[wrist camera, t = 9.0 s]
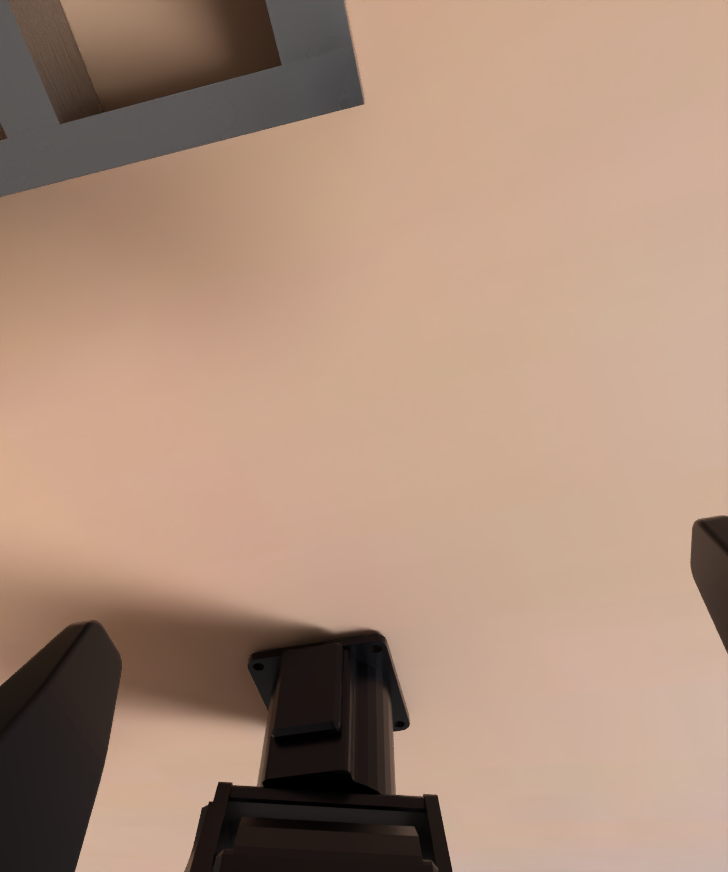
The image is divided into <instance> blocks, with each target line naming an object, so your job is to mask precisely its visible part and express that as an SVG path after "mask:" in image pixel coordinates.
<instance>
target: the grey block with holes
mask: <svg viewBox="0 0 728 872" xmlns="http://www.w3.org/2000/svg"><path fill="white" fill-rule="evenodd" d="M265 1H266V5H267V9H268V13H269V17H270V21H271V25H272V29H273V33H274V37H275V41H276V45H277V49H278V53H279V57H280V61H281V66H277V67H273V68H270V69H266V70H262V71H258V72H255V73H251V74H247V75H243V76H240V77H236V78H232V79H228V80H225V81H221V82H217V83H213V84H209V85H206V86H202V87H198V88H194V89H191V90H187V91H183V92H179V93H176V94H172V95H168V96H164V97H161V98H157V99H153V100H149V101H146V102H142V103H138V104H134V105H131V106H127V107H123V108H119V109H116V110H112V111H108V112H104V113H103V111H102V108H101V106H100V103H99V101H98V98H97V95H96V93H95V90H94V88H93V85H92V83H91V80H90V77H89V75H88V72H87V70H86V67H85V65H84V62H83V59H82V57H81V54H80V52H79V49H78V47H77V44H76V41H75V39H74V36H73V34H72V31H71V29H70V26H69V23H68V21H67V18H66V16H65V13H64V11H63V8H62V5H61V3H60V0H0V123H1V126H2V128H3V130H4V132H5V134H6V136H7V139H3V140H0V197H2V196H6V195H10V194H14V193H17V192H21V191H25V190H29V189H33V188H37V187H41V186H45V185H49V184H53V183H57V182H61V181H65V180H68V179H72V178H76V177H80V176H84V175H88V174H92V173H96V172H100V171H104V170H108V169H112V168H116V167H119V166H123V165H127V164H131V163H135V162H139V161H143V160H147V159H151V158H155V157H159V156H163V155H167V154H170V153H174V152H178V151H182V150H186V149H190V148H194V147H198V146H202V145H206V144H210V143H214V142H218V141H221V140H225V139H229V138H233V137H237V136H241V135H245V134H249V133H253V132H257V131H261V130H265V129H269V128H272V127H276V126H280V125H284V124H288V123H292V122H296V121H300V120H304V119H308V118H312V117H316V116H320V115H323V114H327V113H331V112H335V111H339V110H343V109H347V108H351V107H355V106H359V105H363V104H364V94H363V89H362V84H361V79H360V74H359V69H358V64H357V59H356V54H355V48H354V43H353V38H352V33H351V28H350V23H349V18H348V13H347V8H346V3H345V0H265Z"/></svg>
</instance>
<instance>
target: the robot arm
mask: <svg viewBox="0 0 728 872" xmlns="http://www.w3.org/2000/svg"><path fill="white" fill-rule="evenodd" d="M690 564H691V571H692V575H693V578H694V580H695V583H696V585H697V587H698V589H699V592H700V594H701V596H702V598H703V600H704V603H705V605H706V607H707V609H708V611H709V614H710V616H711V618H712V620H713V622H714V625H715V627H716V629H717V631H718V634H719V636H720V638H721V640H722V642H723V645H724V647H725V649H726V651H727V653H728V516H715V517H709V518H703V519H698V520H697V521H695V522H694V524H693V527H692V542H691V561H690ZM374 645H378V646H374ZM248 669H249V671H250V673H251V675H252V678H253V680H254V682H255V684H256V686H257V688H258V690H259V692H260V694H261V697H262V699H263V701H264V703H265V705H266V707H267V709H268V718H267V724H266V731H265V737H264V744H263V750H262V757H261V764H260V770H259V777H258V783H257V787H254V786H237V785H233V784H232V783H230V782H218V786H217V789H216V793H215V797H214V800H213V802H209V804H208V805H207V806H205V807H203V808H202V810H201V815H200V819H199V824H198V828H197V833H196V837H195V841H194V845H193V849H192V852H191V856H190V858H189V861H188V864H187V866H186V869H185V871H184V872H452V867H451V862H450V856H449V851H448V846H447V841H446V836H445V831H444V826H443V821H442V816H441V811H440V806H439V801H438V796H437V795H430V794H423V797H421V796H404V795H396V789H395V765H394V740H393V732H394V731H401V730H405V729H407V728H408V727H409V725H410V722H409V714H408V710H407V707H406V703H405V700H404V697H403V693H402V690H401V687H400V683H399V680H398V677H397V673H396V670H395V666H394V663H393V660H392V656H391V653H390V650H389V646H388V643H387V640H386V638H385V637H384V636H382V635H379V634H372V635H366V636H360V637H353V638H347V639H340V640H334V641H327V642H321V643H315V644H308V645H302V646H295V647H289V648H282V649H276V650H270V651H263V652H257V653H254V654H252V655H251V656H250V658H249V661H248ZM121 670H122V661H121V657H120V654H119V652H118V650H117V648H116V647H115V645H114V643H113V642H112V640H111V639H110V637H109V635H108V634H107V632H106V631H105V629H104V627H103V626H102V624H101V623H99V622H98V621H96V620H90V621H84V622H78V623H73V624H71V625H69V626H67V627H66V628H65V629H64V630H63V631H62V632H60V633H59V634H58V635H57V636H56V637H55V638H54V639H53V640H51V641H50V642H49V643H48V644H47V645H46V646H45V647H44V648H43V649H41V650H40V651H39V652H38V653H37V654H36V655H35V656H34V657H32V658H31V659H30V660H29V661H28V662H27V663H26V664H25V665H23V666H22V667H21V668H20V669H19V670H18V671H17V672H16V673H15V674H13V675H12V676H11V677H10V678H9V679H8V680H7V681H6V682H4V683H3V684H2V685H1V686H0V872H75V869H76V866H77V862H78V859H79V855H80V851H81V848H82V844H83V841H84V837H85V834H86V830H87V827H88V823H89V819H90V816H91V812H92V809H93V805H94V802H95V798H96V794H97V791H98V787H99V784H100V780H101V776H102V772H103V768H104V764H105V759H106V755H107V750H108V744H109V739H110V733H111V727H112V722H113V716H114V710H115V705H116V699H117V693H118V688H119V682H120V676H121Z"/></svg>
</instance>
